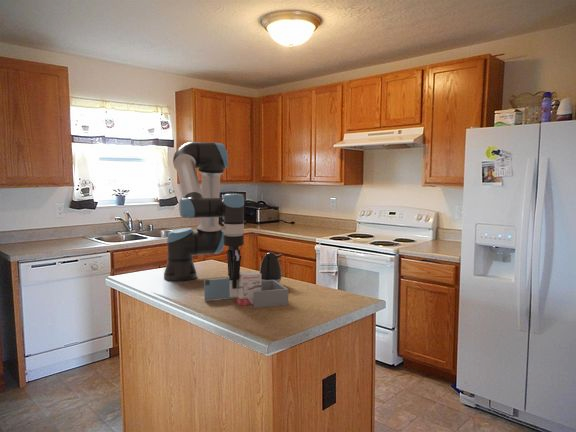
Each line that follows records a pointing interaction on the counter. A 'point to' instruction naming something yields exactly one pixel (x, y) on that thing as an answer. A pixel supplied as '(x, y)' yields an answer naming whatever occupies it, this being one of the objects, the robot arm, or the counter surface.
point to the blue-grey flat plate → (217, 289)
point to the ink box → (248, 287)
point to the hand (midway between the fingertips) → (233, 296)
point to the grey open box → (270, 295)
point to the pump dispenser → (271, 267)
